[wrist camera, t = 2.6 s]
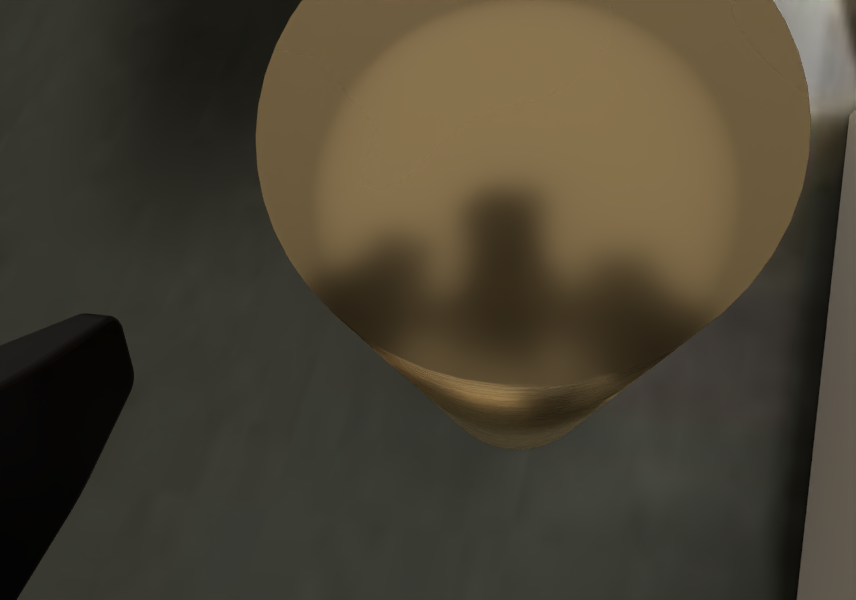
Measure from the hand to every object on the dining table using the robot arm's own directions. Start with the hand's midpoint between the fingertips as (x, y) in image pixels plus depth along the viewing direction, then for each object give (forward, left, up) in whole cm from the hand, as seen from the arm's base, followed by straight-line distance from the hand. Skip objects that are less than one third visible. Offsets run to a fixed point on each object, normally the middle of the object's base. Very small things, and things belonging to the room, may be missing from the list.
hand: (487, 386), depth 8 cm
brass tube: (0, -2, -10) cm, 10 cm away
